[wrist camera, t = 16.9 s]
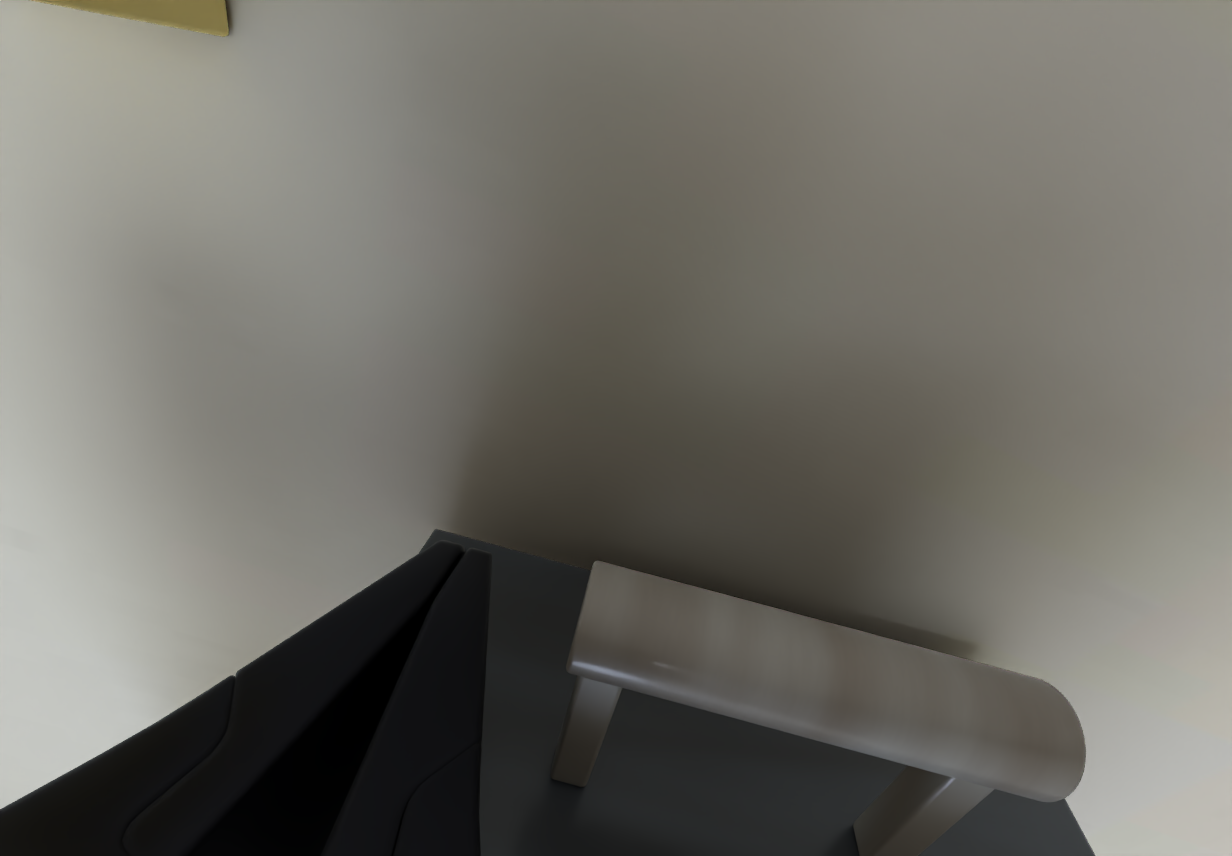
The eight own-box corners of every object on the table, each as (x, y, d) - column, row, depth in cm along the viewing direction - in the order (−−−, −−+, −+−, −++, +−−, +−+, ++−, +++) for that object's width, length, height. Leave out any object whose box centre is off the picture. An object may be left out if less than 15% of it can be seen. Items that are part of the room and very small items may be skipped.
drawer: (444, 364, 10) (95, 682, 4) (1131, 545, 10) (1734, 1135, 4) (420, 792, 19) (289, 1098, 13) (793, 896, 18) (834, 1254, 13)
